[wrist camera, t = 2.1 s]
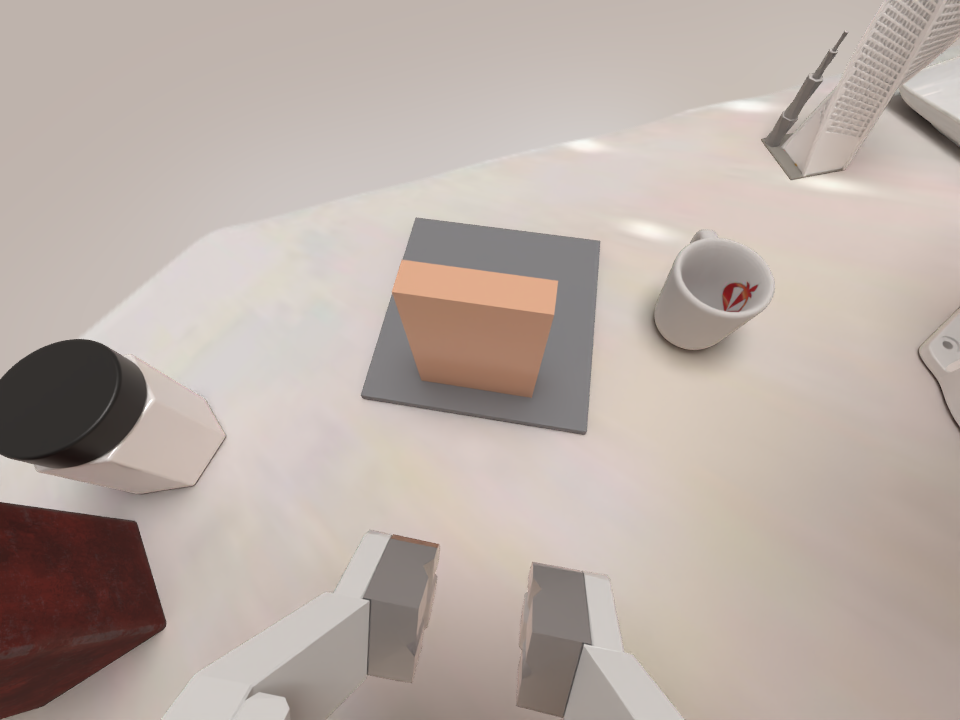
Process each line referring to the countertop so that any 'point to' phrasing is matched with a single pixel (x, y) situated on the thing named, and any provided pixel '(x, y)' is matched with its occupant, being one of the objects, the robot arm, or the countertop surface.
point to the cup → (712, 291)
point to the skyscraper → (862, 85)
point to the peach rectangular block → (475, 325)
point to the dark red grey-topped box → (68, 600)
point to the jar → (105, 419)
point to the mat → (569, 340)
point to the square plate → (937, 96)
